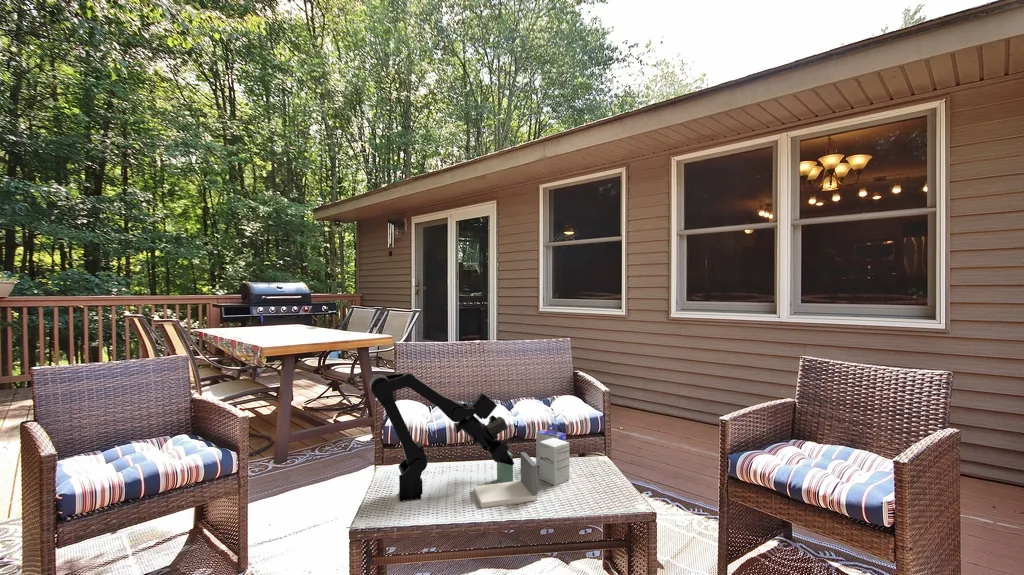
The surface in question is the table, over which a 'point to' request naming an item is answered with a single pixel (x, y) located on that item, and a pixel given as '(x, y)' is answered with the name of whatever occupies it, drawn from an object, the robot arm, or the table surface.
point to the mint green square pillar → (505, 471)
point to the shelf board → (511, 487)
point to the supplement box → (554, 461)
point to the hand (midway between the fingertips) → (508, 459)
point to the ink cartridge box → (546, 435)
